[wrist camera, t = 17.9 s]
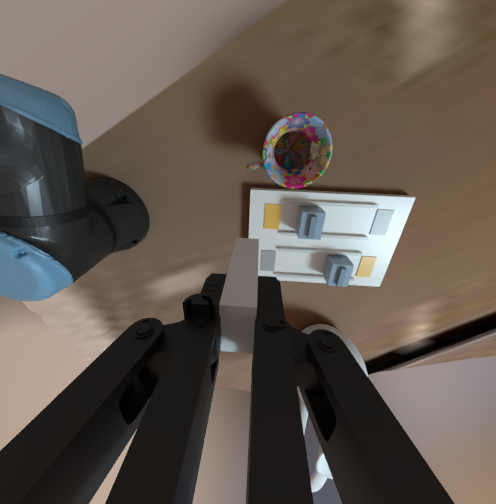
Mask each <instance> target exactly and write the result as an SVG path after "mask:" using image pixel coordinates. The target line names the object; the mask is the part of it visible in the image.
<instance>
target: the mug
mask: <svg viewBox="0 0 496 504" xmlns="http://www.w3.org/2000/svg"><path fill="white" fill-rule="evenodd" d="M331 155H332V138H331V134H330V132H329V129H328V128H327V126H326V125H325V123H324V122H323V121H322V120H321V119H320V118H318V117H317V116H315V115H313V114H310V113H305V112H297V113H292V114H289V115H287V116H285V117H283V118H281V119H280V120H279V121H277V122H276V123H275V124H274V125H273V126H272V128H271V129H270V131H269V132H268V134H267V136H266V138H265V141H264V144H263V150H262V158H263V159H260V160H258V161H255V162H253V163H251V164H249V165H247V166H246V169H247V171H251V170H254V169H257V168H260V167H263V166H264V167H265V170H266V172H267V174H268V175H269V177H270V178H271V179H272V180H273V181H274V182H275V183H277V184H278V185H280V186H283V187H286V188H292V189H295V188H302V187H305V186H308V185H310V184H312V183H313V182H315V181H316V180H317V179H318V178H319V177H320V176H321V175H322V174H323V173H324V171H325V170H326V168H327V166H328V164H329V162H330V159H331Z"/></svg>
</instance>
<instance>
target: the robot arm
mask: <svg viewBox="0 0 496 504" xmlns="http://www.w3.org/2000/svg"><path fill="white" fill-rule="evenodd" d="M81 144H82V141H81V139H80V138H79V133H78V128H77V123H76V117H75V113H74V111H73V109H72V108H71V106H70V105H69V104H68V103H67V102H66V101H65V100H64V99H62V98H61V97H59V96H58V95H55V94H53V93H51V92H48V91H46V90H43V89H41V88H38V87H35V86H33V85H30V84H27V83H25V82H22V81H19V80H16V79H14V78H11V77H8V76H5V75H3V74H0V295H2V296H5V297H8V298H11V299H16V300H22V301H39V300H43V299H46V298H49V297H51V296H53V295H54V294H56V293H57V292H59V291H60V290H62V289H63V288H66V287H68V286H70V285H71V284H72V283H73V282H74V281H76V280H77V279H78V278H80V277H81V276H82V275H83V274H85V273H86V272H87V271H88V270H90V269H91V268H92V267H94V266H95V265H96V264H97V263H99V262H100V261H101V260H103V259H104V258H105V257H106V256H108V255H109V254H110V253H115V252H119V251H123V250H127V249H130V248H132V247H134V246H136V245H137V244H138V243H139V242H141V241H142V240H143V239H144V238H145V236H146V235H147V232H148V229H149V215H148V212H147V209H146V207H145V205H144V203H143V201H142V200H141V198H140V197H139V196H138V195H137V194H136V193H135V192H134V191H133V190H132V189H131V188H130V187H128V186H127V185H125V184H124V183H122V182H120V181H117V180H114V179H111V178H95V179H90V180H87V181H86V180H85V172H84V164H83V156H82V148H81ZM258 255H259V239H252V238H236V242H235V246H234V250H233V253H232V257H231V261H230V265H229V269H228V273H227V274H213V273H212V274H211V275H210V276H209V277H207V278H206V280H205V283H204V286H203V288H202V291H201V293H199V294H194V295H191V296H189V297H188V298H186V299H185V300H184V302H183V311H184V318H185V319H184V320H182V321H180V322H177V323H173V324H167V325H163V324H162V323H161V321H160V320H158V319H156V318H145V319H142V320H139V321H137V322H135V323H134V324H132V325H131V326H130V327H129V328H128V329H127V330H126V331H125V332H123V333H122V334H121V335H120V336H119V337H118V338H117V339H116V340H115V341H114V342H113V343H112V344H111V345H110V346H109V347H108V348H107V349H106V350H105V351H104V352H103V353H102V354H101V355H100V356H99V357H97V358H96V359H95V360H94V361H93V362H92V363H91V364H90V365H89V366H88V367H87V368H86V369H85V370H84V371H83V372H82V373H81V374H80V375H79V376H78V377H77V378H76V379H75V380H74V381H73V382H72V383H70V384H69V386H67V387H66V388H65V389H64V390H63V391H62V392H61V393H60V394H59V395H58V396H57V397H56V398H55V399H54V400H53V401H52V402H51V403H50V404H49V405H48V406H47V407H46V408H45V409H43V411H41V412H40V414H38V415H37V416H36V417H35V418H34V419H33V420H32V421H31V422H30V423H29V424H28V425H27V426H26V427H25V428H24V429H23V430H22V431H21V432H20V433H19V434H18V435H16V437H14V438H13V439H12V440H11V441H10V442H9V443H8V444H7V445H6V446H5V447H4V448H3V449H2V450H1V451H0V504H89V502H90V501H91V499H92V498H93V496H94V495H95V493H96V492H97V490H98V489H99V487H100V485H101V484H102V482H103V481H104V479H105V478H106V476H107V474H108V473H109V471H110V470H111V468H112V467H113V465H114V464H115V462H116V460H117V459H118V457H119V456H120V454H121V453H122V451H123V450H124V448H125V446H126V445H127V443H128V442H129V440H130V439H131V437H132V436H133V434H134V432H135V431H136V429H137V428H138V429H137V431H136V434H135V436H134V438H133V440H132V443H131V445H130V447H129V449H128V452H127V454H126V456H125V459H124V461H123V463H122V466H121V468H120V470H119V473H118V475H117V478H116V480H115V482H114V484H113V487H112V489H111V491H110V494H109V496H108V499H107V501H106V503H105V504H192V502H193V497H194V492H195V485H196V481H197V476H198V470H199V465H200V460H201V455H202V449H203V444H204V438H205V434H206V428H207V423H208V417H209V413H210V407H211V402H212V397H213V391H214V386H215V381H216V376H217V370H218V365H219V351H220V346H221V351H228V352H241V353H253V362H252V375H251V376H252V381H251V404H250V426H249V449H248V470H247V471H248V472H247V492H246V504H313V497H312V489H311V482H310V475H309V468H308V461H307V454H306V447H305V440H304V433H303V425H302V418H301V411H300V404H299V397H298V390H297V386H298V387H299V390H300V393H301V395H302V398H303V400H304V403H305V406H306V408H307V411H308V414H309V416H310V419H311V422H312V424H313V427H314V430H315V432H316V435H317V437H318V440H319V443H320V445H321V448H322V451H323V453H324V456H325V459H326V461H327V464H328V467H329V469H330V472H331V475H332V477H333V480H334V482H335V485H336V487H337V490H338V493H339V496H340V498H341V501H342V504H454V502H453V501H452V499H451V498H450V496H449V495H448V493H447V492H446V491H445V489H444V488H443V486H442V485H441V483H440V482H439V480H438V479H437V477H436V476H435V475H434V473H433V472H432V470H431V469H430V467H429V466H428V464H427V463H426V461H425V460H424V458H423V457H422V456H421V454H420V453H419V451H418V450H417V448H416V447H415V445H414V444H413V442H412V441H411V440H410V438H409V437H408V435H407V434H406V432H405V431H404V429H403V428H402V426H401V425H400V423H399V422H398V421H397V419H396V418H395V416H394V415H393V413H392V412H391V410H390V409H389V407H388V406H387V405H386V403H385V402H384V400H383V399H382V397H381V396H380V394H379V393H378V391H377V390H376V388H375V387H374V385H373V384H372V382H371V381H370V380H369V378H368V377H367V375H366V374H365V372H364V371H363V369H362V368H361V366H360V365H359V363H358V362H357V361H356V359H355V358H354V356H353V355H352V353H351V352H350V350H349V349H348V347H347V346H346V344H345V343H344V342H343V340H342V339H341V338H340V337H339V336H338V335H336V334H335V333H333V332H331V331H328V330H325V329H317V330H314V331H312V332H311V333H310V334H306V333H303V332H301V331H298V330H296V329H294V328H293V327H291V326H290V325H289V324H288V323H287V321H286V320H285V317H284V310H283V302H282V296H281V295H282V294H281V286H280V282H279V281H278V279H277V278H276V277H271V276H258Z"/></svg>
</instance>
